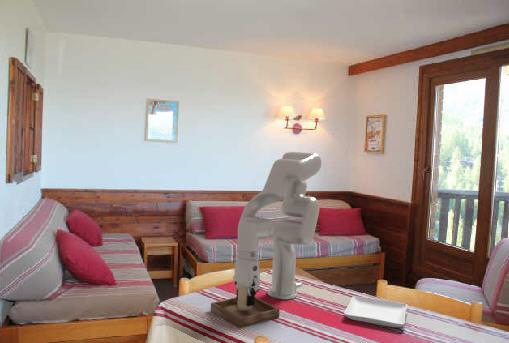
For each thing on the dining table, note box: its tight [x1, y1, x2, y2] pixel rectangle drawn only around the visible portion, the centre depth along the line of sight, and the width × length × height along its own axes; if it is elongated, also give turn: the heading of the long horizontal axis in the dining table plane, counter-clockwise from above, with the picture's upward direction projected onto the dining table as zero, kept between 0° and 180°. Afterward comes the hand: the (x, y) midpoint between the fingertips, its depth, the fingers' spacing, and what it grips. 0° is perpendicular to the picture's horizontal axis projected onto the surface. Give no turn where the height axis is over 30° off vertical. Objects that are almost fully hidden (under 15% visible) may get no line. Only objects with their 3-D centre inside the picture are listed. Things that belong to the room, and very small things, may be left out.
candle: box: [238, 284, 252, 310], centre depth 165 cm, size 6×6×10 cm
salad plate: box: [343, 295, 409, 328], centre depth 170 cm, size 21×21×3 cm
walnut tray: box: [210, 296, 280, 329], centre depth 166 cm, size 18×18×3 cm
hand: (245, 302), depth 166 cm, fingers closed on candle, 5 cm apart
